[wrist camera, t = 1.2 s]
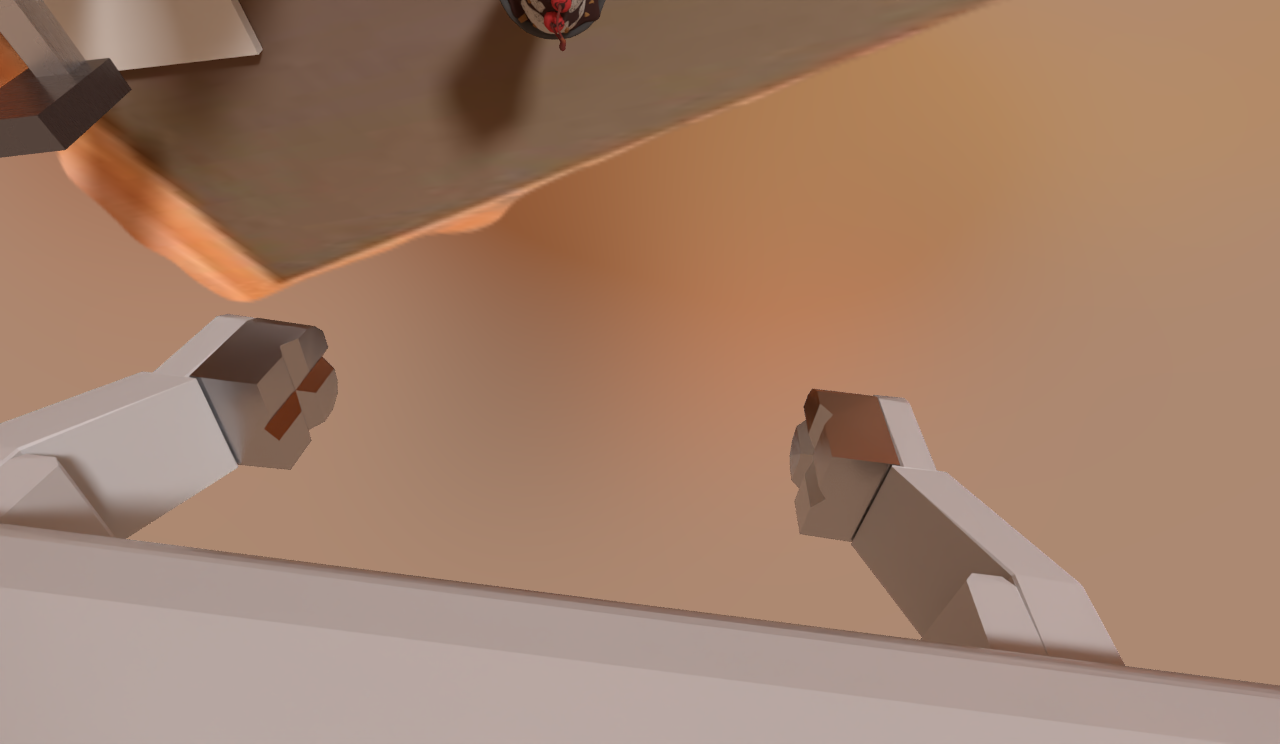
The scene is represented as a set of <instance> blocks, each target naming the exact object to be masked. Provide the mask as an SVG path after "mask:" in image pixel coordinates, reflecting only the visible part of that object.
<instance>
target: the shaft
mask: <svg viewBox="0 0 1280 744" xmlns="http://www.w3.org/2000/svg"><path fill="white" fill-rule="evenodd" d="M0 32H1V33H2V35H3V36H4V37H5V38H6V40H7V41H8V42H9V43H10V45H11V46H12V47H13V48H14V50H15V51H16V52H17V54H18V55H19V56H20V57H21V59H22V60H23V61H24V62H25V64H26V65H27V66H28V67H29V68H28V69H27V70H25V71H24V72H23V73H21V74H20V75H18V76H17V77H15V78H14V79H12V80H11V81H10V82H8V83H7V84H5V85H4V86H2V87H1V88H0V157H9V156H17V155H26V154H35V153H43V152H52V151H60V150H66V149H67V148H68V147H69V146H70V145H71V144H72V143H74V142H75V141H76V140H77V139H78V138H79V137H80V136H81V135H82V134H83V133H85V132H86V131H87V130H88V129H89V128H90V127H91V126H92V125H93V124H94V123H96V122H97V121H98V120H99V119H100V118H101V117H102V116H103V115H104V114H105V113H107V112H108V111H109V110H110V109H111V108H112V107H113V106H114V105H115V104H116V103H118V102H119V101H120V100H121V99H122V98H123V97H124V96H125V95H126V94H127V93H128V92H130V91H131V88H130V87H129V85H128V84H127V82H126V81H125V79H124V78H123V77H122V75H121V74H120V72H119V71H118V69H117V68H116V66H115V65H114V63H113V62H112V60H111V59H110V58H103V59H94V60H85V58H84V57H83V56H82V54H81V53H80V51H79V50H78V49H77V47H76V46H75V44H74V43H73V42H72V40H71V39H70V38H69V36H68V35H67V33H66V32H65V31H64V29H63V28H62V26H61V25H60V24H59V22H58V21H57V19H56V18H55V17H54V15H53V14H52V12H51V11H50V10H49V8H48V7H47V5H46V4H45V3H44V1H43V0H0Z"/></svg>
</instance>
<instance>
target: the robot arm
mask: <svg viewBox="0 0 1280 744" xmlns="http://www.w3.org/2000/svg"><path fill="white" fill-rule="evenodd" d="M327 349H328V345H327V342H326V339H325V336H324V333H323V331H322V330H320V329H318V328H317V327H315V326H310V325H303V324H296V323H289V322H282V321H275V320H269V319H262V318H252V317H246V316H238V315H231V314H226V315H220V316H217V317H216V318H214V319H213V320H212V321H211V322H210V323H209V324H208V325H206V326H205V327H204V328H203V329H202V330H201V331H200V332H198V333H197V334H196V335H195V336H194V337H193V338H192V339H190V340H189V341H188V342H187V343H186V344H185V345H184V346H182V347H181V348H180V349H179V350H178V351H177V352H176V353H174V354H173V355H172V356H171V357H170V358H169V359H168V360H166V361H165V362H164V363H163V364H162V365H161V366H160V367H158V368H157V369H156V370H155V371H154V372H153V373H150V372H140V373H137V374H135V375H132V376H129V377H126V378H124V379H121V380H119V381H116V382H113V383H110V384H107V385H104V386H102V387H99V388H97V389H94V390H91V391H88V392H85V393H83V394H80V395H77V396H75V397H72V398H69V399H66V400H63V401H61V402H58V403H55V404H52V405H50V406H47V407H44V408H42V409H39V410H36V411H33V412H31V413H28V414H25V415H23V416H20V417H17V418H14V419H11V420H9V421H6V422H3V423H0V744H1280V685H1279V686H1278V685H1271V684H1263V683H1255V682H1248V681H1240V680H1231V679H1223V678H1215V677H1207V676H1199V675H1192V674H1184V673H1176V672H1168V671H1160V670H1151V669H1143V668H1135V667H1129V666H1125V664H1124V662H1123V661H1122V659H1121V657H1120V655H1119V653H1118V651H1117V649H1116V648H1115V646H1114V644H1113V642H1112V640H1111V638H1110V636H1109V635H1108V633H1107V631H1106V629H1105V627H1104V626H1103V623H1102V621H1101V620H1100V618H1099V616H1098V614H1097V612H1096V610H1095V608H1094V607H1093V605H1092V603H1091V601H1090V599H1089V597H1088V595H1087V594H1086V592H1085V590H1084V588H1083V586H1082V585H1081V584H1080V583H1079V582H1077V581H1076V580H1075V579H1074V578H1073V577H1072V576H1070V575H1069V574H1068V573H1067V572H1066V571H1064V570H1063V569H1062V568H1061V567H1060V566H1058V565H1057V564H1056V563H1055V562H1054V561H1052V560H1051V559H1050V558H1049V557H1048V556H1046V555H1045V554H1044V553H1043V552H1042V551H1040V550H1039V549H1038V548H1037V547H1036V546H1034V545H1033V544H1032V543H1031V542H1029V541H1028V540H1027V539H1026V538H1025V537H1023V536H1022V535H1021V534H1020V533H1019V532H1018V531H1016V530H1015V529H1014V528H1013V527H1012V526H1010V525H1009V524H1008V523H1007V522H1006V521H1004V520H1003V519H1002V518H1001V517H1000V516H998V515H997V514H996V513H995V512H993V511H992V510H991V509H990V508H989V507H987V506H986V505H985V504H984V503H983V502H981V501H980V500H979V499H978V498H977V497H975V496H974V495H973V494H972V493H971V492H969V491H968V490H967V489H966V488H965V487H963V486H962V485H961V484H960V483H959V482H957V481H956V480H955V479H954V478H953V477H951V476H950V475H949V474H948V473H947V472H941V471H937V470H936V468H935V465H934V462H933V460H932V458H931V455H930V453H929V450H928V448H927V445H926V443H925V440H924V438H923V436H922V433H921V431H920V428H919V426H918V423H917V421H916V419H915V416H914V414H913V411H912V409H911V406H910V404H909V402H908V401H907V400H906V399H905V398H898V397H888V396H879V395H873V396H870V395H861V394H853V393H845V392H837V391H827V390H820V389H812V390H811V391H810V393H809V394H808V396H807V399H806V402H805V405H804V412H805V417H806V420H805V421H804V422H802V423H801V424H799V425H798V426H797V427H796V430H795V433H794V436H793V440H792V445H791V452H790V472H791V480H792V481H793V482H794V483H795V484H796V485H797V487H798V488H799V491H798V494H797V496H796V499H795V507H796V514H797V520H798V526H799V533H800V534H804V535H810V536H816V537H823V538H829V539H836V540H843V541H849V542H852V543H851V545H852V546H853V547H854V549H855V550H856V551H857V553H858V554H859V555H860V557H861V558H862V559H863V560H864V562H865V563H866V564H867V566H868V567H869V568H870V570H872V572H873V574H874V575H875V576H876V578H877V579H878V580H879V581H880V583H881V584H882V585H883V587H884V588H885V589H886V591H887V592H888V593H889V595H890V596H891V597H892V598H893V600H894V601H895V602H896V604H897V605H898V606H899V608H900V609H901V610H902V611H903V613H904V614H905V616H906V617H907V618H908V619H909V621H910V622H911V623H912V625H913V626H914V627H915V629H916V630H917V631H918V633H919V634H920V635H921V637H922V638H921V640H916V639H908V638H901V637H892V636H884V635H877V634H869V633H862V632H854V631H845V630H837V629H830V628H822V627H814V626H806V625H799V624H791V623H783V622H774V621H767V620H759V619H752V618H744V617H736V616H727V615H720V614H712V613H704V612H696V611H688V610H680V609H672V608H664V607H657V606H648V605H641V604H633V603H625V602H617V601H609V600H601V599H593V598H585V597H577V596H569V595H562V594H553V593H545V592H538V591H530V590H522V589H514V588H506V587H499V586H490V585H483V584H475V583H467V582H459V581H451V580H443V579H435V578H427V577H420V576H412V575H404V574H396V573H388V572H380V571H373V570H365V569H357V568H349V567H341V566H333V565H326V564H317V563H310V562H301V561H294V560H286V559H278V558H270V557H263V556H255V555H247V554H239V553H231V552H222V551H214V550H207V549H199V548H192V547H184V546H175V545H167V544H160V543H152V542H144V541H136V540H128V539H126V538H128V537H129V536H131V535H132V534H134V533H136V532H137V531H139V530H140V529H142V528H143V527H145V526H146V525H148V524H150V523H151V522H153V521H154V520H156V519H158V518H159V517H161V516H162V515H164V514H165V513H167V512H168V511H170V510H172V509H173V508H175V507H176V506H178V505H179V504H181V503H183V502H184V501H186V500H187V499H189V498H191V497H192V496H194V495H195V494H197V493H198V492H200V491H201V490H203V489H205V488H206V487H208V486H209V485H211V484H213V483H214V482H216V481H217V480H219V479H220V478H222V477H224V476H225V475H227V474H228V473H230V472H231V471H233V470H235V469H236V468H237V467H238V465H247V466H257V467H267V468H277V469H288V470H291V468H292V467H293V466H294V464H295V463H296V461H297V460H298V458H299V457H300V456H301V454H302V453H303V452H304V450H305V449H306V447H307V446H308V445H309V443H310V442H311V437H310V432H309V429H311V428H313V427H315V426H317V425H319V424H321V423H323V422H325V420H326V419H327V417H328V416H329V414H330V413H331V411H332V410H333V407H334V404H335V401H336V397H337V394H338V386H337V377H336V373H335V369H334V368H333V367H332V366H331V365H330V364H329V363H328V362H327V361H326V360H325V359H324V358H323V357H322V356H323V355H324V353H325V352H326V350H327Z"/></svg>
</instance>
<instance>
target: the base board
mask: <svg viewBox="0 0 1280 744" xmlns="http://www.w3.org/2000/svg"><path fill="white" fill-rule="evenodd" d="M43 1H44V3H45V4H46V5H47V7H48V8H49V10H50V11H51V12H52V14H53V15H54V17H55V18H56V19H57V21H58V22H59V24H60V25H61V26H62V28H63V29H64V31H65V32H66V33H67V35H68V36H69V38H70V39H71V40H72V42H73V43H74V44H75V46H76V47H77V49H78V50H79V51H80V53H81V54H82V56H83V57H84V58H85V60H94V59H103V58H110V59H111V60H112V62H113V63H114V65H115V66H116V68H117V69H118V71H120V70H129V69H138V68H146V67H155V66H164V65H172V64H181V63H190V62H199V61H207V60H216V59H225V58H233V57H242V56H251V55H259V53H260V52H261V51H262V50H263V49H262V47H261V45H260V43H259V41H258V39H257V37H256V35H255V33H254V31H253V29H252V27H251V25H250V23H249V21H248V19H247V17H246V15H245V13H244V11H243V9H242V7H241V5H240V3H239V1H238V0H43Z"/></svg>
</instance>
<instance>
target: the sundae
mask: <svg viewBox="0 0 1280 744" xmlns="http://www.w3.org/2000/svg"><path fill="white" fill-rule="evenodd" d="M500 1H501V3H502V5H503V7H504V9H505V10H506V12H507V14H508V15H509V17H510V18H511V19H512V20H513V21H514V22H515V23H516V24H517V25H518V26H519V27H521V28H522V29H523V30H525V31H526V32H527V33H530V34H532V35H534V36H537V37H540V38H544V39H559V40H560V42H561V43H560V45H559V48H560V50H561V51H564V50H565V46H566V40H565V38H571V37H573V36H576V35H578V34H580V33H581V32H583V31H585V30H586V29H588V28H589V27H590V25H591V24H592V23H593V22H594V21H596V20H598V19H599V17H600V14H601V10H602V7H603V5H604V2H605V0H500Z"/></svg>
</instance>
